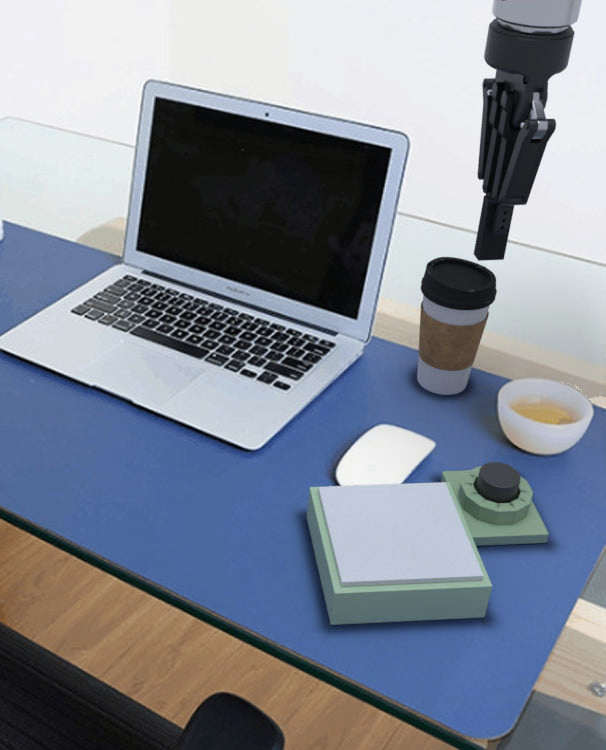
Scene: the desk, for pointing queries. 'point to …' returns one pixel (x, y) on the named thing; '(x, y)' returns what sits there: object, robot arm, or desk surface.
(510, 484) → the tare button
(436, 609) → the scale
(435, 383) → the coffee cup
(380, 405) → the desk surface
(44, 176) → the desk surface
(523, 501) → the panel
